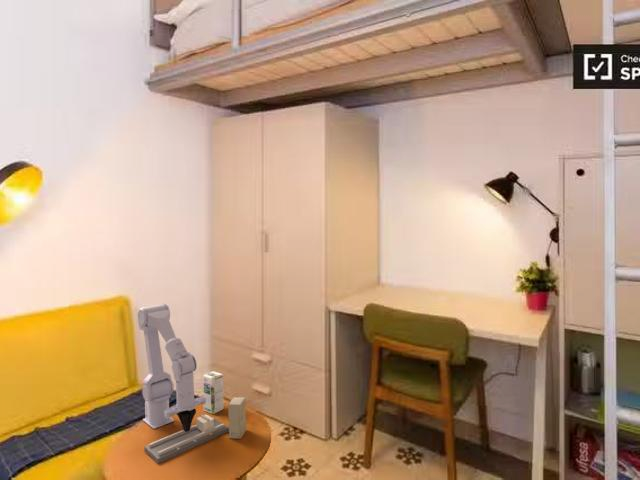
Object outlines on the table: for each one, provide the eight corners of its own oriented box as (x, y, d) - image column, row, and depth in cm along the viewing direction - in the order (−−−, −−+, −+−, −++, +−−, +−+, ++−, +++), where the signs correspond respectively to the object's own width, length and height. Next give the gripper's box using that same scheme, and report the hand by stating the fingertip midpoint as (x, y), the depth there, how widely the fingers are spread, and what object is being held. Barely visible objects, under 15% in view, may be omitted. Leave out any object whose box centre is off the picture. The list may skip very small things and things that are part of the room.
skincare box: (240, 439, 142) (239, 405, 141) (228, 438, 143) (227, 404, 142) (246, 429, 148) (245, 397, 148) (234, 429, 149) (233, 396, 148)
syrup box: (203, 410, 163) (202, 375, 162) (214, 405, 168) (213, 370, 167) (213, 414, 160) (211, 378, 159) (224, 408, 165) (223, 373, 164)
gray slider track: (144, 451, 136) (144, 443, 136) (213, 421, 155) (213, 415, 154) (158, 463, 129) (157, 455, 129) (228, 431, 148) (228, 424, 148)
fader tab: (196, 427, 147) (196, 416, 146) (206, 423, 150) (206, 412, 149) (203, 433, 143) (203, 421, 143) (214, 428, 146) (213, 417, 146)
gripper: (170, 402, 132) (172, 443, 133) (210, 388, 143) (211, 426, 144) (160, 396, 137) (162, 435, 138) (199, 382, 148) (200, 419, 149)
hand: (186, 430), depth 141 cm, fingers closed
